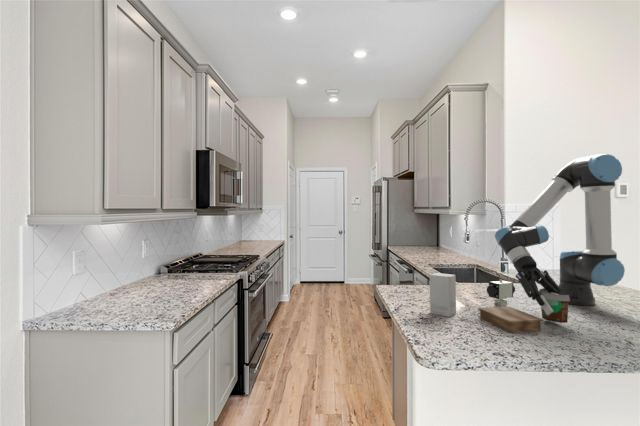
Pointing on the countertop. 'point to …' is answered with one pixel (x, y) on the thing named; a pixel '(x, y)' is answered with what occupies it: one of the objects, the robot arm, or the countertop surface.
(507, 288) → the pneumatic valve
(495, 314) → the stand
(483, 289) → the countertop surface
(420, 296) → the countertop surface
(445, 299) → the skincare box
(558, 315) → the food container
